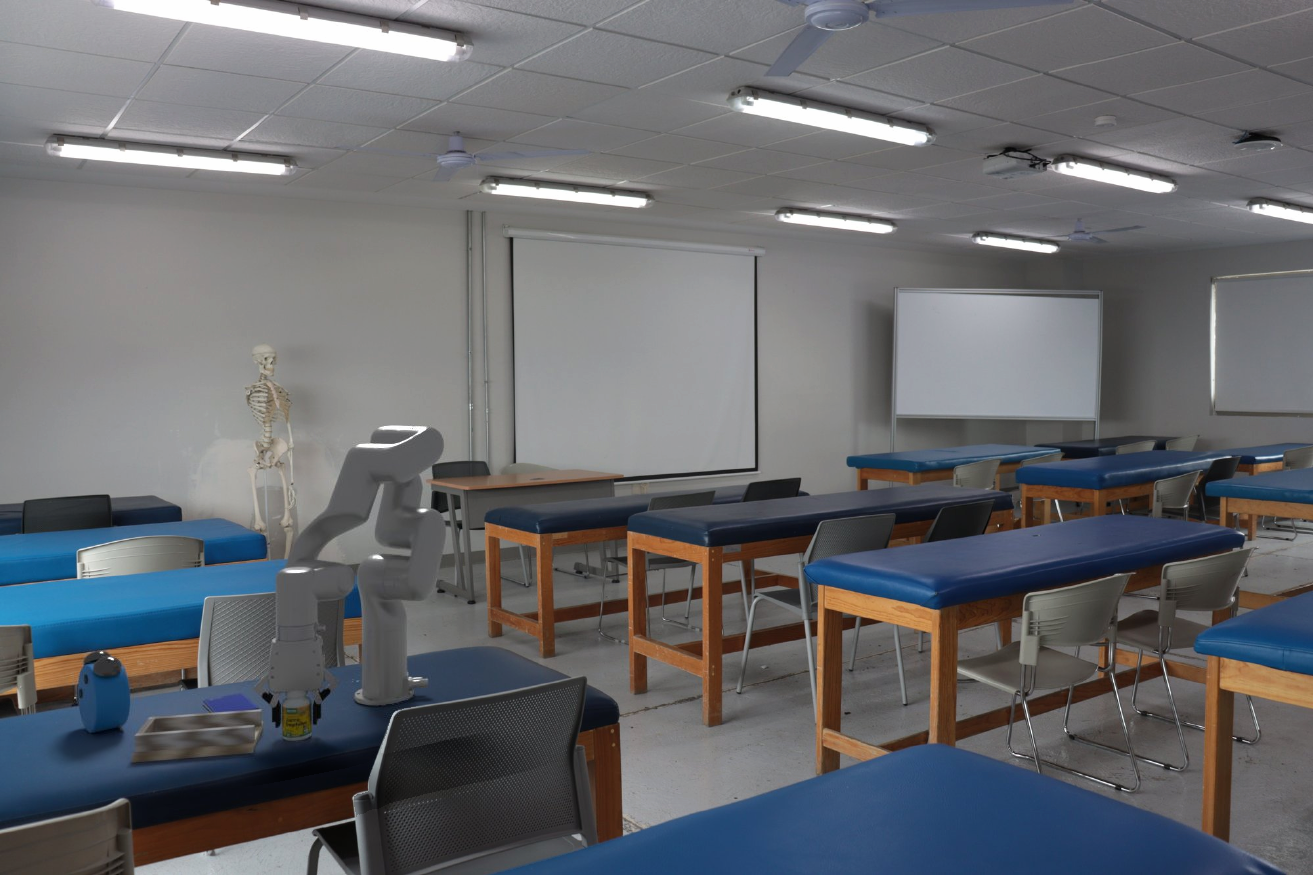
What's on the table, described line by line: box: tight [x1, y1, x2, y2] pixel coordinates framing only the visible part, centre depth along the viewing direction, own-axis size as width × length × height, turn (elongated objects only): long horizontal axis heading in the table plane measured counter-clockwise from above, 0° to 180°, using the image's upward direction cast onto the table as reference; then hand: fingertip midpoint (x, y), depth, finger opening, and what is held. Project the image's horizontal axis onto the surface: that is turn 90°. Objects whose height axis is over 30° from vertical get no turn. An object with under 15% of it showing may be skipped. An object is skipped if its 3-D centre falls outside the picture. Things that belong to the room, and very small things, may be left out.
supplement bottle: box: [281, 691, 313, 742], centre depth 181 cm, size 5×5×10 cm
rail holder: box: [131, 708, 264, 763], centre depth 177 cm, size 20×14×4 cm
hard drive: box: [202, 692, 260, 713], centre depth 198 cm, size 2×8×12 cm
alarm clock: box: [77, 649, 131, 734], centre depth 184 cm, size 13×6×15 cm, turn 45°
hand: (296, 723), depth 181 cm, fingers open, 6 cm apart
